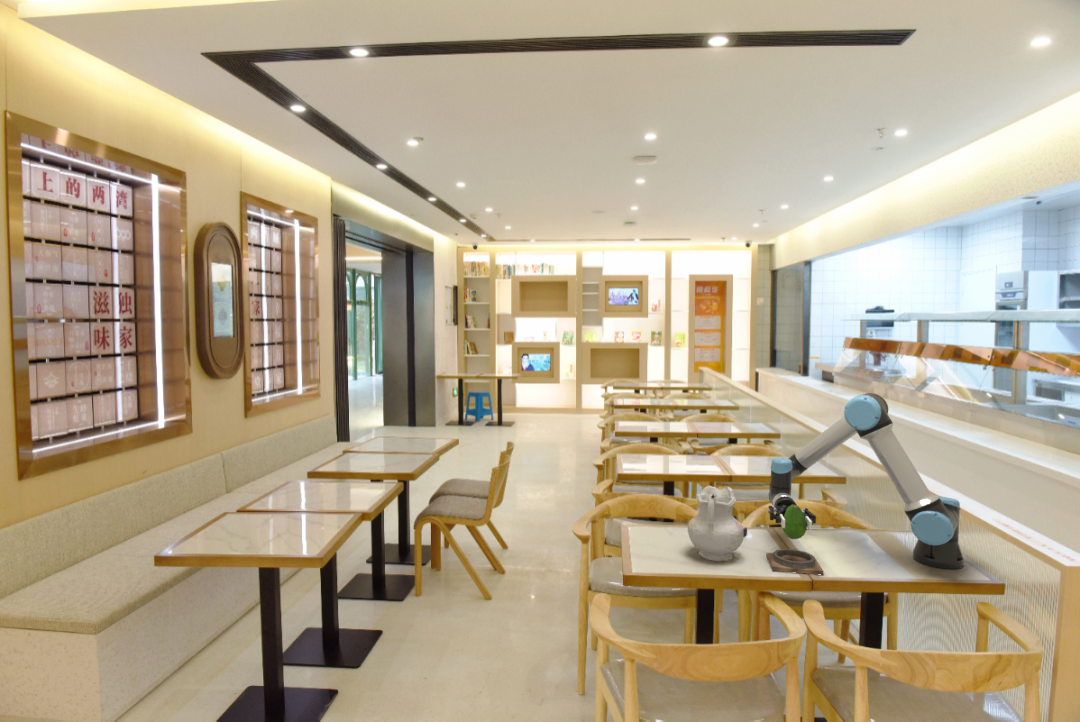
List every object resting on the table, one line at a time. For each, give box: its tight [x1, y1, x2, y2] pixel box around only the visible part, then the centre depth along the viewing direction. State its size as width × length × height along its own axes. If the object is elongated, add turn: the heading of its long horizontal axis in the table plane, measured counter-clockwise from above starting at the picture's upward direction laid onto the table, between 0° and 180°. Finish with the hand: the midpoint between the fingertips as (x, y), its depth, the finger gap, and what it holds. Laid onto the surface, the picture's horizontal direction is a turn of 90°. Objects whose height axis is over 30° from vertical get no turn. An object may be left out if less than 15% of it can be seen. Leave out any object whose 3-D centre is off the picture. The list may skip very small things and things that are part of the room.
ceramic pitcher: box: [687, 485, 745, 562], centre depth 221 cm, size 22×20×25 cm
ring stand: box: [765, 548, 825, 576], centre depth 214 cm, size 16×14×4 cm
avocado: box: [781, 504, 808, 540], centre depth 213 cm, size 8×8×12 cm
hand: (797, 524), depth 208 cm, fingers closed on avocado, 8 cm apart
